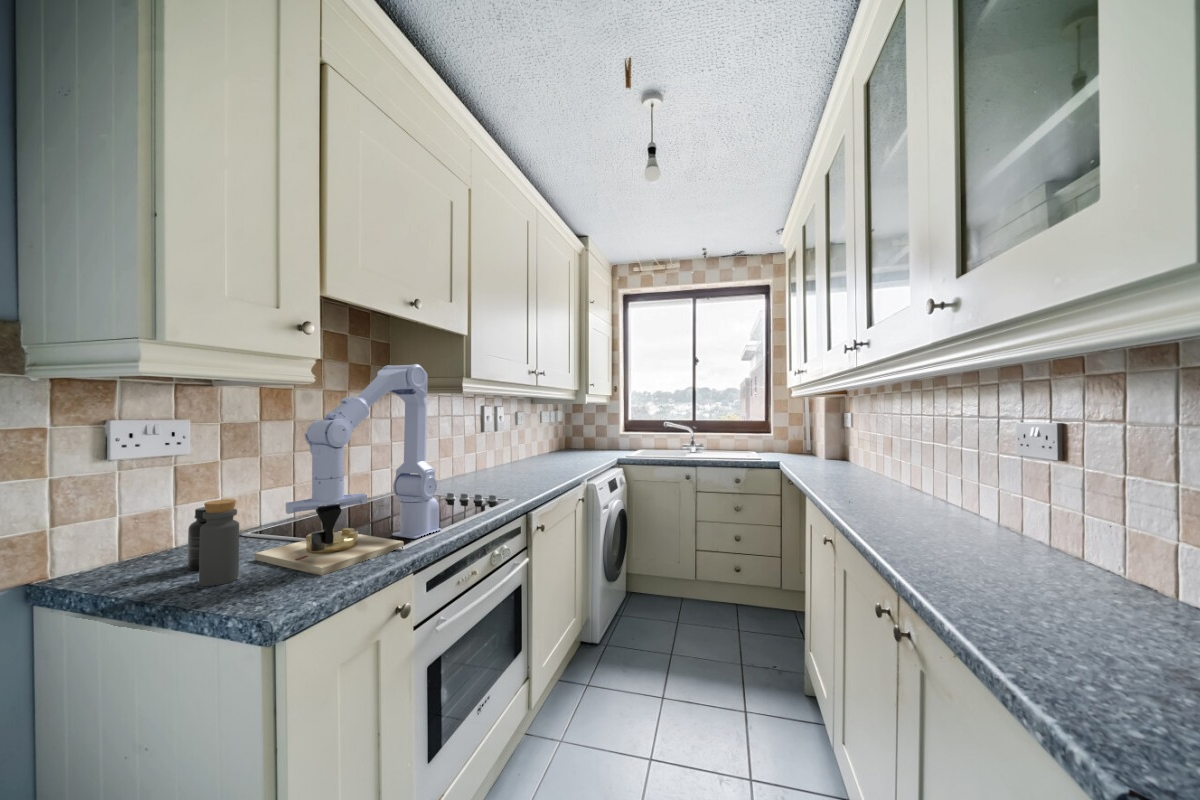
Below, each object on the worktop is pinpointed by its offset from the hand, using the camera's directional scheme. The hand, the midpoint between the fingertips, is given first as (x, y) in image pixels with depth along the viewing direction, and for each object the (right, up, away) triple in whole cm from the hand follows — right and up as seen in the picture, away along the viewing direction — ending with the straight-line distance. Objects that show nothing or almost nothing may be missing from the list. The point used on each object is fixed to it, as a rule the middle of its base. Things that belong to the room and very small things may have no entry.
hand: (328, 542), depth 97 cm
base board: (-4, -5, +8) cm, 10 cm away
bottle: (-16, -5, -8) cm, 19 cm away
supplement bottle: (-25, -5, 0) cm, 26 cm away
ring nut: (-3, -3, +6) cm, 7 cm away
